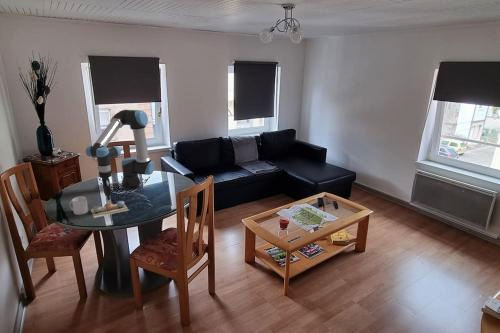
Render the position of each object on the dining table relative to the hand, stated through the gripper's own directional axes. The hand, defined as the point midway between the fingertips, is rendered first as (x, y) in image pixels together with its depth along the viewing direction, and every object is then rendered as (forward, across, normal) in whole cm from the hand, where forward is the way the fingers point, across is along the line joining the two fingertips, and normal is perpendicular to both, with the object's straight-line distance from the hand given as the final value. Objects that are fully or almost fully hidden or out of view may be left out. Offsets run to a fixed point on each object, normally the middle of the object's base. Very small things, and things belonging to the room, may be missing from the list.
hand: (108, 203), depth 212 cm
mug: (+6, -8, -18) cm, 21 cm away
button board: (+6, 0, 0) cm, 6 cm away
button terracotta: (+5, 0, 0) cm, 5 cm away
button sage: (+5, 0, -7) cm, 9 cm away
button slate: (+5, 0, +8) cm, 9 cm away
